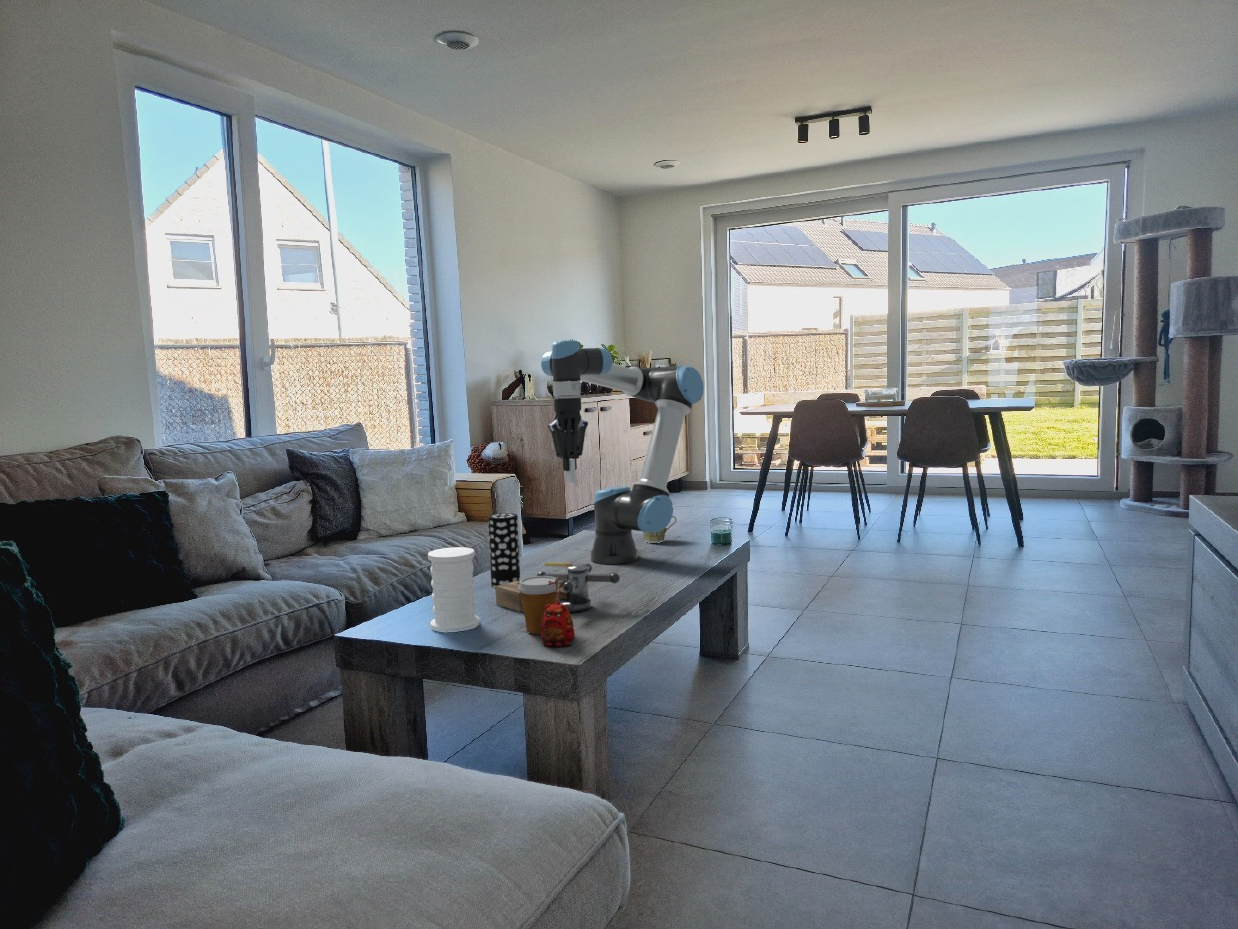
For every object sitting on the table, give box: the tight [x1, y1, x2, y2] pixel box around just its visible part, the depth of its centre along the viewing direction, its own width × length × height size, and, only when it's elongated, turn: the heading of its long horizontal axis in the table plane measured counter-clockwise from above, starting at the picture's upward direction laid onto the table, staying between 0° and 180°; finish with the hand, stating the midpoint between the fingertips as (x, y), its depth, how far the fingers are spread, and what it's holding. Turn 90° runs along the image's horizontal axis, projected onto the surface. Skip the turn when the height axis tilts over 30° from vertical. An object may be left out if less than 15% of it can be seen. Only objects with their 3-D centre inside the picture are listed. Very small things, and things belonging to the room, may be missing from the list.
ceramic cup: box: [642, 515, 677, 543], centre depth 283 cm, size 13×10×10 cm
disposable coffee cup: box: [518, 575, 559, 634], centre depth 187 cm, size 10×10×12 cm
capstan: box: [536, 561, 621, 613], centre depth 204 cm, size 22×22×11 cm
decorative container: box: [427, 546, 480, 632], centre depth 192 cm, size 12×12×18 cm
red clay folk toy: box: [540, 574, 575, 648], centre depth 177 cm, size 8×7×15 cm
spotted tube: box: [487, 512, 521, 589], centre depth 229 cm, size 8×8×20 cm
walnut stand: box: [495, 579, 569, 613], centre depth 210 cm, size 18×16×6 cm
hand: (570, 482), depth 224 cm, fingers closed
